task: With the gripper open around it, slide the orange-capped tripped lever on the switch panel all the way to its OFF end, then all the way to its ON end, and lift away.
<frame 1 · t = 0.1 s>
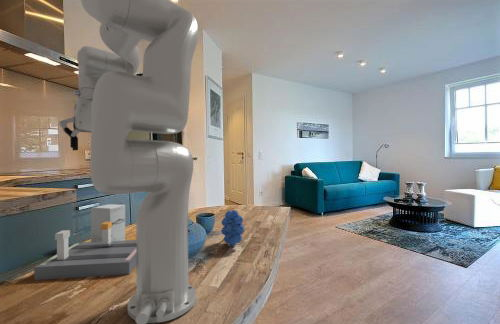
hand: (93, 150, 77), 31 cm above the table, tool pointing down, fingers open, 9 cm apart
grapes: (234, 246, 79), on the table
switch panel: (100, 262, 66), on the table
supplement box: (108, 243, 81), on the table
tripped lever: (106, 233, 70), point 7 cm above the table, slide at 7.0 cm
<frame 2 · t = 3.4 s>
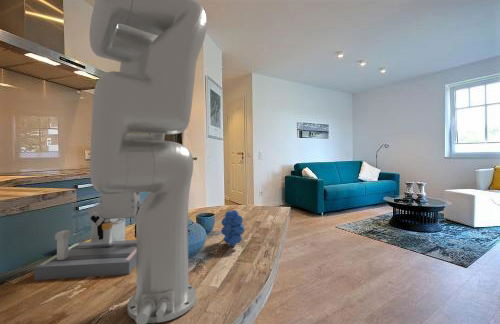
hand: (120, 237, 71), 5 cm above the table, tool pointing down, fingers open, 9 cm apart
tripped lever: (107, 233, 70), point 7 cm above the table, slide at 6.8 cm, touching gripper
everything else where it was.
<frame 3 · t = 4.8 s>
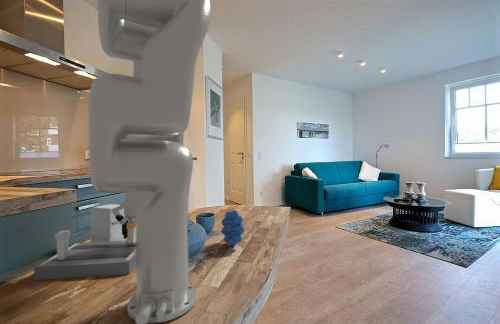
hand: (144, 236, 71), 5 cm above the table, tool pointing down, fingers open, 9 cm apart
tripped lever: (131, 232, 71), point 7 cm above the table, slide at 0.2 cm, touching gripper
everything else where it was.
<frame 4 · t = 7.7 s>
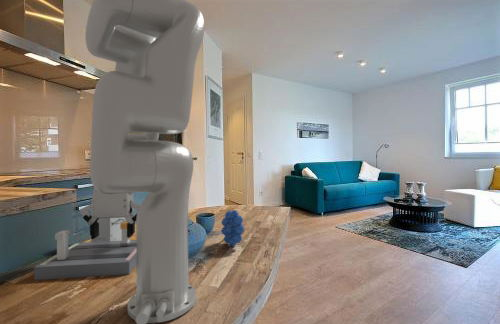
hand: (112, 236, 70), 6 cm above the table, tool pointing down, fingers open, 9 cm apart
tripped lever: (125, 233, 71), point 7 cm above the table, slide at 1.8 cm, touching gripper
everything else where it was.
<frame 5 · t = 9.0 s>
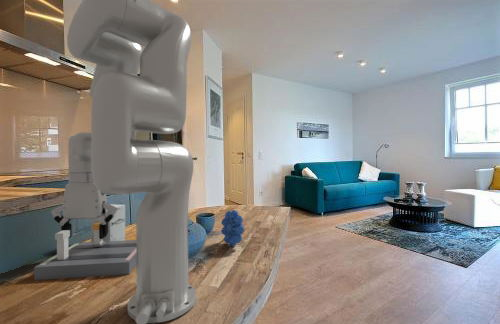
hand: (85, 238, 69), 6 cm above the table, tool pointing down, fingers open, 9 cm apart
tripped lever: (98, 234, 70), point 7 cm above the table, slide at 9.3 cm, touching gripper
everything else where it was.
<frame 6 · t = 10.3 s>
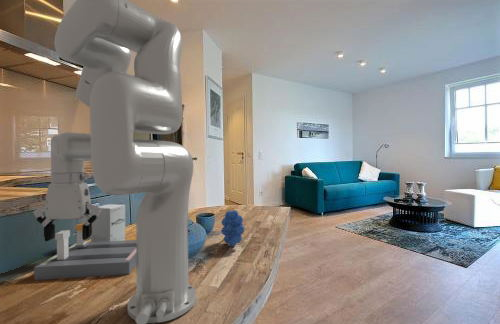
hand: (68, 238, 69), 6 cm above the table, tool pointing down, fingers open, 9 cm apart
tripped lever: (81, 234, 69), point 7 cm above the table, slide at 13.7 cm, touching gripper
everything else where it was.
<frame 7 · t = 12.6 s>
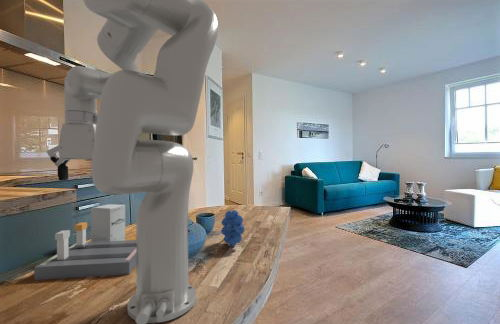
hand: (82, 179, 69), 22 cm above the table, tool pointing down, fingers open, 9 cm apart
tripped lever: (81, 234, 69), point 7 cm above the table, slide at 13.8 cm
everything else where it was.
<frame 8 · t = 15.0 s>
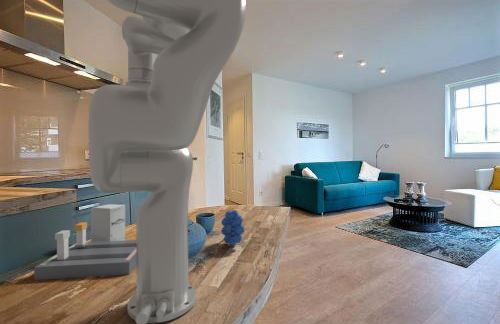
hand: (143, 141, 67), 33 cm above the table, tool pointing down, fingers open, 9 cm apart
nothing on the table moved.
at the end: tripped lever slide at 13.8 cm; supplement box moved 0.2 cm from its start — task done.
